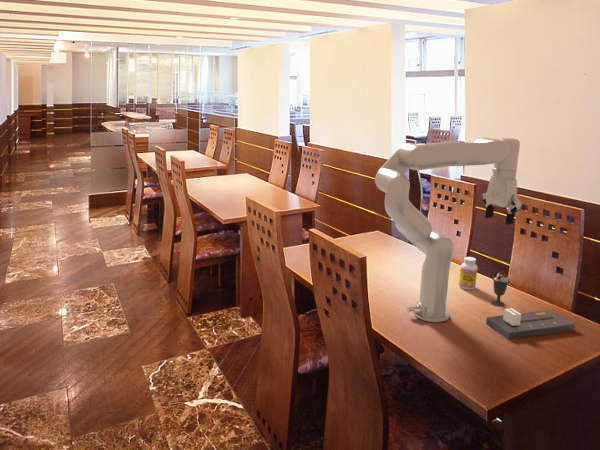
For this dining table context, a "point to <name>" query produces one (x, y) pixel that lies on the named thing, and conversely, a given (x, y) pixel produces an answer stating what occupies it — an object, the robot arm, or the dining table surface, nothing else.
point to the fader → (512, 316)
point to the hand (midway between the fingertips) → (498, 220)
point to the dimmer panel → (531, 324)
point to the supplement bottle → (468, 273)
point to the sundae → (500, 286)
